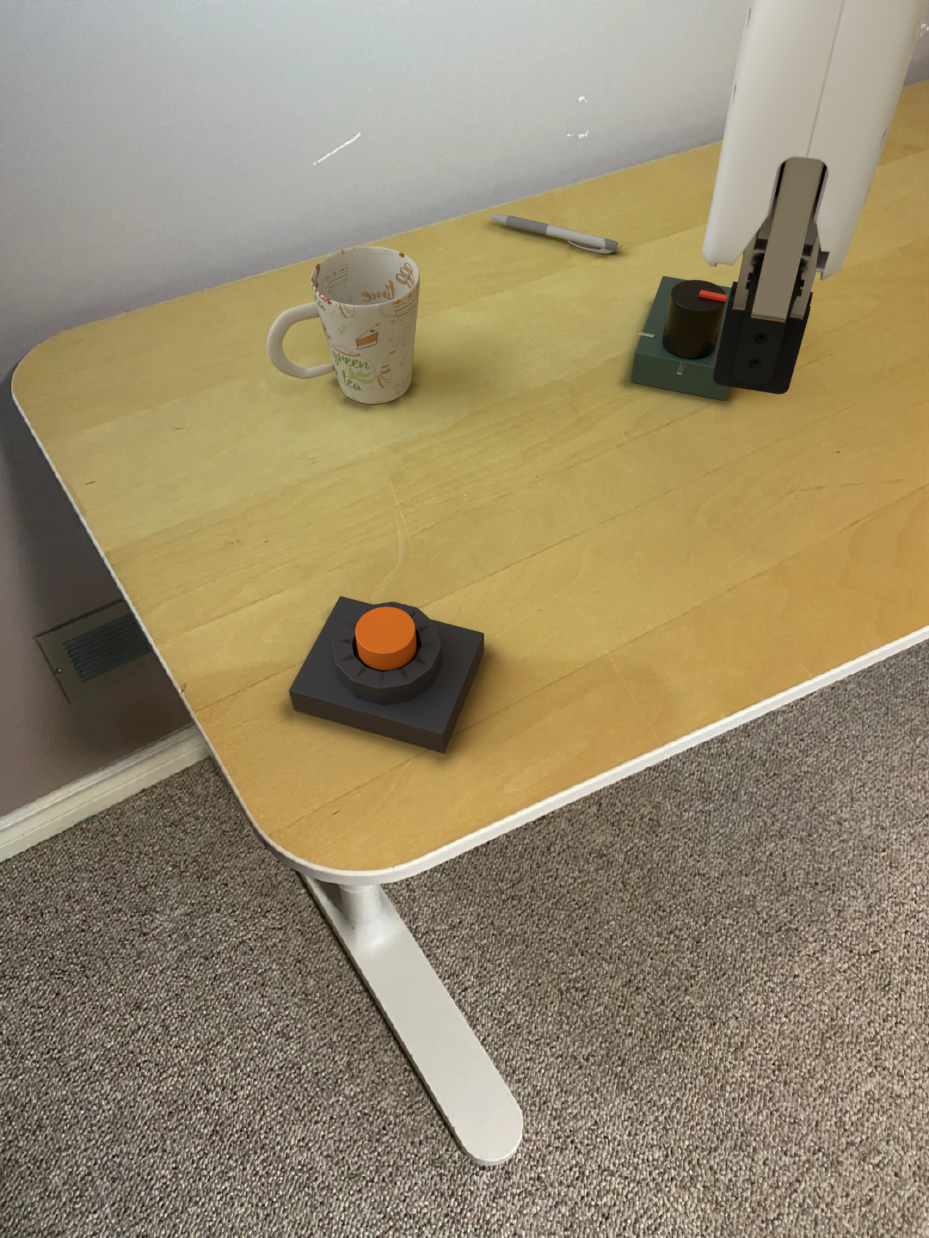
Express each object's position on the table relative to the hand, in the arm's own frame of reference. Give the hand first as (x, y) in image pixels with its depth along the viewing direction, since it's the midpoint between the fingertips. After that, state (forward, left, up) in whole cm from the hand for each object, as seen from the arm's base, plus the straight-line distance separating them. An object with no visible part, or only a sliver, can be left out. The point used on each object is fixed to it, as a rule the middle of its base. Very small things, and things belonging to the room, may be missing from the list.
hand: (751, 378), depth 42 cm
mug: (+31, -23, -25) cm, 45 cm away
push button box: (+17, +4, -24) cm, 30 cm away
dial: (+5, -33, -21) cm, 40 cm away
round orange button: (+17, +4, -21) cm, 27 cm away
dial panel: (+5, -37, -24) cm, 44 cm away
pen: (+21, -51, -25) cm, 60 cm away
